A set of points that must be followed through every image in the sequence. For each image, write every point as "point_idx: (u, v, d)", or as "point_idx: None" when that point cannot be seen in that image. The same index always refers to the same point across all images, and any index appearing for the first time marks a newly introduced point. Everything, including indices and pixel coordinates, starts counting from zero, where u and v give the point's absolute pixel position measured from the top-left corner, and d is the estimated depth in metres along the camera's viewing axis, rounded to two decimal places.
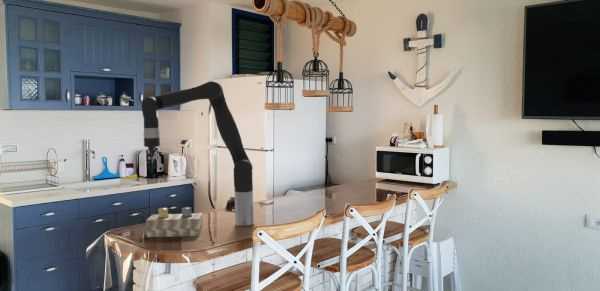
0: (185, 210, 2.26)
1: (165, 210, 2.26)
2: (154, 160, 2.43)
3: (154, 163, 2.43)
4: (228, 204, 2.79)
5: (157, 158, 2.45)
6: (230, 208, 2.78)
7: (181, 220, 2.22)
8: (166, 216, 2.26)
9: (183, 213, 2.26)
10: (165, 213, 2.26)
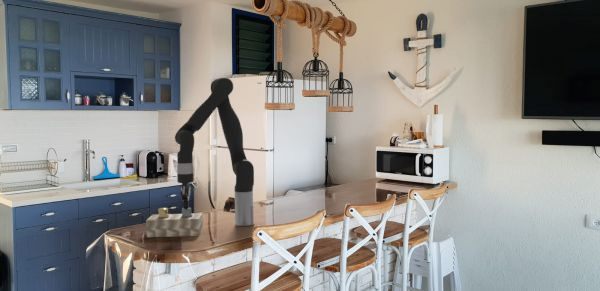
0: (185, 210, 2.26)
1: (165, 210, 2.26)
2: None
3: None
4: (226, 204, 2.79)
5: (189, 196, 2.30)
6: (228, 208, 2.78)
7: (181, 220, 2.22)
8: (166, 216, 2.26)
9: (183, 213, 2.26)
10: (165, 213, 2.26)
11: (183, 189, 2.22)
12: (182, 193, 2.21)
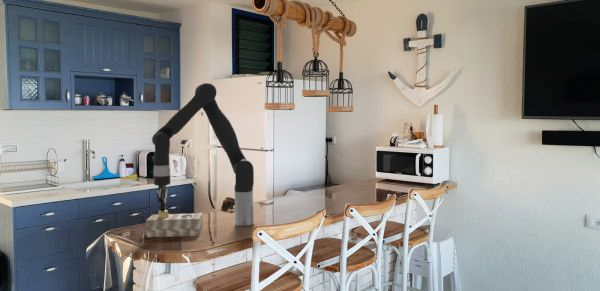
0: None
1: (165, 212, 2.26)
2: None
3: None
4: (224, 204, 2.79)
5: (165, 199, 2.29)
6: (226, 208, 2.78)
7: (181, 220, 2.22)
8: None
9: None
10: (165, 215, 2.26)
11: (159, 191, 2.22)
12: (158, 195, 2.21)
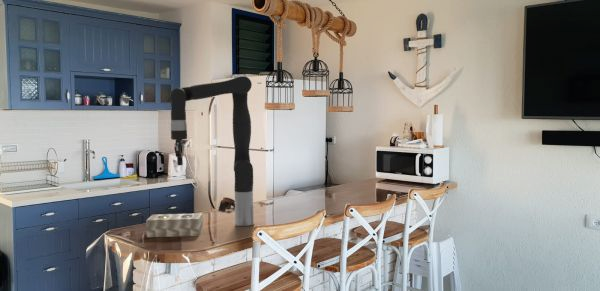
0: None
1: None
2: None
3: None
4: (221, 204, 2.78)
5: (182, 154, 2.34)
6: (223, 208, 2.77)
7: (181, 220, 2.22)
8: None
9: None
10: None
11: (177, 145, 2.26)
12: (176, 149, 2.26)
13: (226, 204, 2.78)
